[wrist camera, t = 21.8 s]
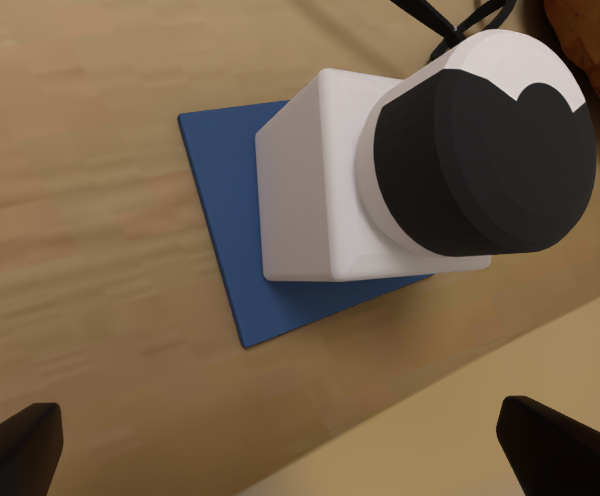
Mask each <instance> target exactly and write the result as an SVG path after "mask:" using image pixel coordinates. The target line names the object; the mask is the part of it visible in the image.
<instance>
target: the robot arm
mask: <svg viewBox="0 0 600 496" xmlns="http://www.w3.org/2000/svg"><path fill="white" fill-rule="evenodd" d="M496 433H497V438H498V440H499V443H500V444H501V447H502V449H503V451H504V453H505V455H506V457H507V459H508V461H509V463H510V465H511V467H512V469H513V471H514V473H515V475H516V477H517V479H518V481H519V483H520V485H521V487H522V489H523V492H524V494H525V496H600V432H599V431H597V430H594V429H592V428H590V427H588V426H586V425H584V424H582V423H580V422H578V421H576V420H574V419H572V418H570V417H568V416H566V415H564V414H562V413H560V412H557V411H556V410H554V409H551V408H549V407H547V406H545V405H543V404H541V403H539V402H537V401H535V400H533V399H531V398H529V397H526V396H508V397H506V398H505V399H504V400H503V403H502V407H501V411H500V415H499V418H498V422H497V426H496ZM62 449H63V429H62V418H61V409H60V406H59V405H58V404H57V403H34V404H32V405H30V406H28V407H26V408H25V409H23V410H21V411H20V412H18V413H17V414H15V415H13V416H12V417H10V418H8V419H7V420H5V421H4V422H2V423H0V496H46V495H47V492H48V490H49V487H50V484H51V481H52V478H53V475H54V473H55V470H56V467H57V464H58V461H59V459H60V456H61V453H62Z"/></svg>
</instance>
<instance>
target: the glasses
mask: <svg viewBox="0 0 600 496" xmlns="http://www.w3.org/2000/svg"><path fill="white" fill-rule="evenodd" d="M390 1H392V2H393V3H394V4H396V5H397V6H399V7H400V8H401V9H403V10H404V11H405V12H407V13H408V14H410V15H411V16H413V17H414V18H416V19H417V20H419V21H420V22H421V23H423V24H424V25H426V26H427V27H429V28H430V29H432V30H433V31H435V32H436V33H438V34H439V35H441V36H442V37H445V38H444V39H443V41H442V42H441V43H440V44H439V45H438V46H437V48H436V49H435V50H434V51H433V52H432V54H431V56H430V57H431V60H432V61H434V60H435V59H437V58H438V57H440V56H441V55H443V54H444V53H446V52H447V51H446V52H445V50H446V49H447V48H448V47H449V48H450V49H452V48H453V47H455V46H456V45H458V44H459V43H461V42H462V41H464V40H465V39H467V38H466V37H465V36H464V35H463V34H462V33H463V32H464V31H466V30H467V29H468V28H470V27H471V26H472V25H474V24H475V23H477V22H478V21H480V20H482V19H483V18H485V17H486V16H488V15H490V14H491V13H493V12H494V11H496V10H498V9H499V8H501V7H503V6H504V7H503V8H502V10H501V11H500V13H499V14H498V15H497V16H496V17H495V18H494V19H493V21H492V22H491V23H490V24H488V25H487V26H486V27H485V28H484V29H483V30H482V31H485V30H492V29H497V28H498V27H499V26H500V25H501V24H502V23H503V22H504V21H505V20H506V18H507V17H508V16H509V14H510V13H511V11H512V10H513V8H514V6H515V3H516V1H517V0H489V1H488V2H486V3H485V4H483V5H482V6H480V7H479V8H478V9H477V10H476V11H474V12H473V13H472V14H471V15H470V16H469V17H468V18H467V19H466V20H465V21H463V22H462V23H461V24H460V25H459V26H458V27H456V26H453V25H452V24H451V23H450V22H449V21H448V20H447V19H446V18H444V17H443V16H442V15H441V14H440V13H439V12H438V11H437V10H436V9H435V8H434V7H432V6H431V5H430V4H429V3H428V2H427V1H426V0H390ZM482 31H480V32H482ZM447 35H448V36H447Z"/></svg>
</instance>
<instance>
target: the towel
mask: <svg viewBox="0 0 600 496" xmlns="http://www.w3.org/2000/svg"><path fill="white" fill-rule="evenodd" d="M289 101H290V100H287V101H279V102H271V103H263V104H255V105H247V106H239V107H231V108H223V109H215V110H207V111H199V112H191V113H183V114H179V115H178V118H177V120H178V124H179V127H180V131H181V134H182V138H183V141H184V145H185V148H186V152H187V155H188V159H189V162H190V166H191V169H192V173H193V176H194V180H195V183H196V187H197V191H198V194H199V198H200V201H201V205H202V208H203V212H204V215H205V219H206V222H207V226H208V229H209V233H210V236H211V240H212V243H213V247H214V250H215V254H216V257H217V261H218V264H219V268H220V271H221V275H222V278H223V282H224V286H225V289H226V293H227V296H228V300H229V303H230V307H231V310H232V314H233V317H234V321H235V324H236V328H237V331H238V335H239V338H240V342H241V345H242V347H244V348H247V347H250V346H253V345H255V344H258V343H260V342H263V341H265V340H268V339H270V338H273V337H276V336H278V335H281V334H283V333H286V332H288V331H291V330H293V329H296V328H299V327H301V326H304V325H306V324H309V323H311V322H314V321H317V320H319V319H322V318H324V317H327V316H329V315H332V314H334V313H337V312H340V311H342V310H345V309H347V308H350V307H352V306H355V305H357V304H360V303H363V302H365V301H368V300H370V299H373V298H375V297H378V296H380V295H383V294H386V293H388V292H391V291H393V290H396V289H398V288H401V287H404V286H406V285H409V284H411V283H414V282H416V281H419V280H421V279H424V278H427V277H429V276H432V275H434V274H424V275H413V276H401V277H390V278H378V279H367V280H355V281H343V282H325V281H269V280H267V279H266V278H265V277H264V275H263V263H262V247H261V230H260V214H259V198H258V182H257V165H256V149H255V136H256V133H257V132H258V131H259V130H260V129H261V128H262V127H263V126H264V125H265V124H266V123H267V122H268V121H269V120H270V119H272V118H273V117H274V116H275V115H276V114H277V113H278V112H279V111H280V110H281V109H282V108H283V107H284V106H285V105H286V104H287V103H288V102H289Z"/></svg>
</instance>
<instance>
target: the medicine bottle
mask: <svg viewBox="0 0 600 496" xmlns="http://www.w3.org/2000/svg"><path fill="white" fill-rule="evenodd" d="M255 149H256V165H257V182H258V198H259V214H260V230H261V247H262V263H263V275H264V277H265V278H266V279H267V280H269V281H325V282H343V281H355V280H367V279H378V278H390V277H401V276H413V275H424V274H436V273H448V272H459V271H471V270H482V269H485V268H487V267H489V265H490V263H491V255H499V254H515V253H529V252H538V251H541V250H544V249H547V248H549V247H551V246H553V245H554V244H556V243H558V242H559V241H560V240H561V239H562V238H564V237H565V236H566V235H567V234H568V233H569V231H570V230H571V229H572V228H573V227H574V226H575V225H576V223H577V222H578V221H579V220H580V218H581V217H582V215H583V213H584V212H585V210H586V207H587V205H588V203H589V200H590V197H591V194H592V190H593V186H594V181H595V174H596V143H595V135H594V129H593V124H592V120H591V116H590V113H589V109H588V107H587V104H586V101H585V98H584V96H583V94H582V92H581V90H580V87H579V85H578V84H577V82H576V80H575V78H574V77H573V75H572V73H571V72H570V71H569V69H568V68H567V66H566V65H565V64H564V63H563V61H562V60H561V59H560V58H559V57H558V56H557V55H556V54H555V53H554V52H553V51H552V50H551V49H550V48H549V47H547V46H546V45H545V44H543V43H542V42H540V41H539V40H537V39H535V38H533V37H531V36H528V35H525V34H522V33H518V32H514V31H509V30H502V29H492V30H485V31H482V32H479V33H476V34H474V35H472V36H471V37H469V38H467V39H465V40H464V41H462V42H461V43H459V44H458V45H456V46H455V47H453V48H452V49H450V50H449V51H447V52H446V53H444V54H443V55H441V56H440V57H438V58H437V59H435V60H434V61H432V62H431V63H429V64H428V65H426V66H425V67H423V68H422V69H420V70H419V71H417V72H416V73H414V74H413V75H411V76H410V77H408V78H407V79H405V80H400V79H394V78H388V77H382V76H375V75H369V74H363V73H357V72H351V71H345V70H338V69H332V68H327V69H323V70H321V71H320V72H319V73H318V74H317V75H316V76H315V77H314V78H313V79H312V80H311V81H310V82H309V83H308V84H307V85H306V86H305V87H304V88H303V89H302V90H301V91H300V92H298V93H297V94H296V95H295V96H294V97H293V98H292V99H291V100H290V101H289V102H288V103H287V104H286V105H285V106H284V107H283V108H282V109H281V110H280V111H279V112H278V113H277V114H276V115H275V116H274V117H273V118H272V119H270V120H269V121H268V122H267V123H266V124H265V125H264V126H263V127H262V128H261V129H260V130H259V131H258V132H257V133H256V136H255Z"/></svg>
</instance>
